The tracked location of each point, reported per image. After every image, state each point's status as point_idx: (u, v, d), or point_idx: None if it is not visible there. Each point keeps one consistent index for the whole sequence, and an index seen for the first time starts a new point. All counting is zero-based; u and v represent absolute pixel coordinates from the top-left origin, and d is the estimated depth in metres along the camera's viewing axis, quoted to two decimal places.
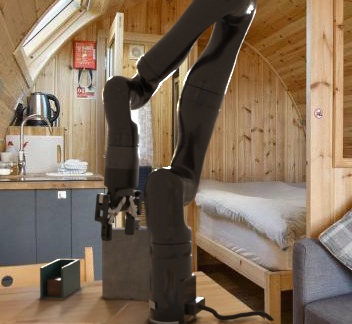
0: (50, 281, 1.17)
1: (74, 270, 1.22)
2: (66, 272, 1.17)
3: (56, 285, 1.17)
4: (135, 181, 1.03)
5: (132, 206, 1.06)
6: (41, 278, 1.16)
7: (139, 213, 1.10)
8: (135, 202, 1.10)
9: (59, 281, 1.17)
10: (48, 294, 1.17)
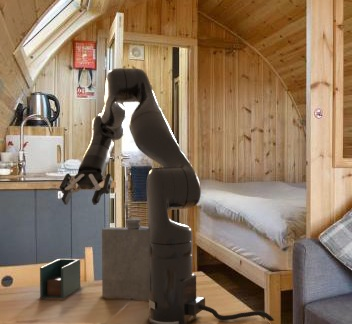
0: (50, 281, 1.17)
1: (74, 270, 1.22)
2: (66, 272, 1.17)
3: (56, 285, 1.17)
4: (88, 161, 1.38)
5: (92, 180, 1.35)
6: (41, 278, 1.16)
7: (104, 187, 1.34)
8: None
9: (59, 281, 1.17)
10: (48, 294, 1.17)
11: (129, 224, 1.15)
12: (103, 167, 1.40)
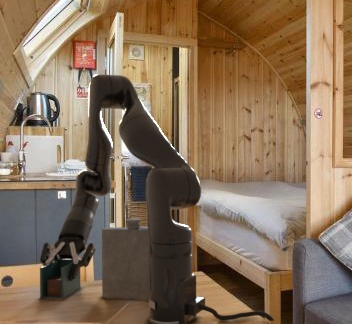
0: (50, 281, 1.17)
1: None
2: (66, 272, 1.17)
3: (56, 285, 1.17)
4: (70, 227, 1.25)
5: (72, 251, 1.22)
6: (41, 278, 1.16)
7: (82, 260, 1.21)
8: None
9: (59, 281, 1.17)
10: (48, 294, 1.17)
11: (129, 224, 1.15)
12: (86, 233, 1.28)
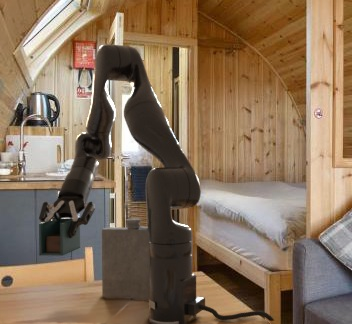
0: (50, 238, 1.16)
1: None
2: (65, 228, 1.15)
3: (55, 241, 1.15)
4: (69, 186, 1.24)
5: (71, 209, 1.21)
6: (40, 234, 1.14)
7: (81, 217, 1.20)
8: None
9: (58, 237, 1.15)
10: (47, 251, 1.16)
11: (129, 224, 1.15)
12: (86, 192, 1.26)
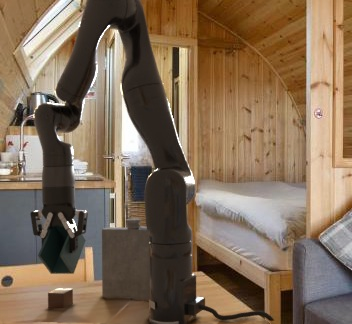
0: None
1: None
2: (66, 253, 1.11)
3: None
4: (51, 198, 1.10)
5: (64, 223, 1.12)
6: (43, 262, 1.11)
7: (77, 233, 1.12)
8: None
9: None
10: None
11: (129, 224, 1.15)
12: (71, 196, 1.13)
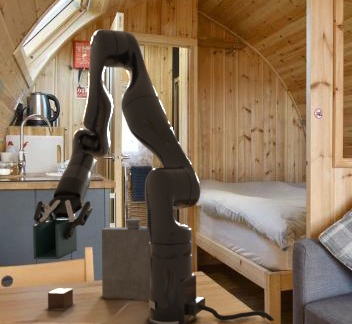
0: None
1: None
2: (61, 230, 1.10)
3: None
4: (65, 185, 1.18)
5: (68, 209, 1.15)
6: (34, 236, 1.08)
7: (78, 218, 1.14)
8: None
9: None
10: None
11: (129, 224, 1.15)
12: (83, 191, 1.21)
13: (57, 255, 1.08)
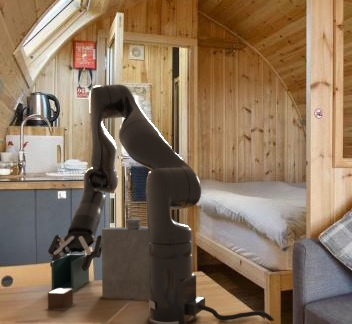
0: None
1: None
2: (76, 266, 1.23)
3: None
4: (79, 222, 1.32)
5: (83, 244, 1.29)
6: (52, 272, 1.22)
7: (94, 251, 1.28)
8: None
9: None
10: None
11: (129, 224, 1.15)
12: (94, 227, 1.34)
13: None
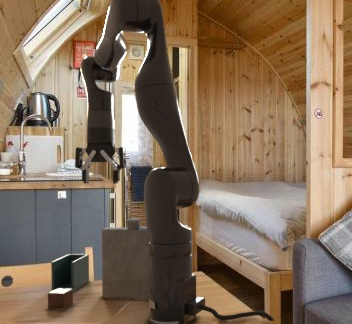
0: None
1: (83, 264, 1.28)
2: (76, 266, 1.23)
3: None
4: (96, 137, 1.29)
5: (107, 159, 1.31)
6: (52, 272, 1.22)
7: (120, 166, 1.31)
8: None
9: None
10: None
11: (129, 224, 1.15)
12: (112, 136, 1.32)
13: None
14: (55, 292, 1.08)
